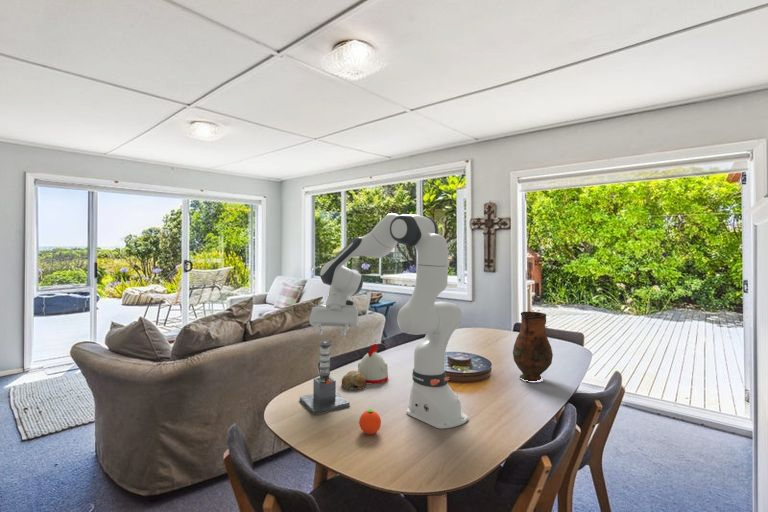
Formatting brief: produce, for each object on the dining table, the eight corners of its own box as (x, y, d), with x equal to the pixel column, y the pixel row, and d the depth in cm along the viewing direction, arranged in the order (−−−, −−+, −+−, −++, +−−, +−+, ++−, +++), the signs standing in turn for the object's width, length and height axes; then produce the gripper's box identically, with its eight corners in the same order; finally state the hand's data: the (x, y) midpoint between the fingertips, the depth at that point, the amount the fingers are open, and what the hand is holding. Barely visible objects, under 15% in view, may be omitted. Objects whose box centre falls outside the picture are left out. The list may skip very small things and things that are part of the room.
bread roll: (342, 398, 156) (344, 383, 152) (339, 379, 165) (340, 365, 161) (366, 395, 159) (368, 381, 155) (361, 377, 167) (363, 363, 164)
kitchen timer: (392, 375, 173) (393, 343, 172) (380, 386, 160) (380, 351, 160) (365, 371, 178) (366, 339, 178) (351, 380, 166) (351, 346, 165)
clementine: (358, 426, 125) (359, 404, 125) (379, 425, 125) (380, 404, 125) (359, 438, 117) (359, 416, 117) (381, 438, 117) (381, 415, 117)
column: (332, 388, 141) (333, 342, 140) (321, 390, 138) (321, 344, 138) (327, 384, 145) (328, 339, 144) (316, 386, 142) (316, 341, 142)
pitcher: (505, 379, 171) (507, 312, 170) (525, 368, 186) (527, 307, 185) (542, 389, 160) (544, 318, 158) (560, 377, 175) (563, 312, 174)
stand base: (349, 406, 140) (350, 380, 139) (313, 415, 132) (314, 387, 132) (333, 393, 151) (333, 369, 151) (299, 400, 144) (300, 375, 144)
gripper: (311, 300, 160) (304, 329, 151) (359, 302, 159) (355, 331, 149) (314, 309, 165) (307, 337, 156) (360, 311, 163) (357, 339, 154)
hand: (331, 334), depth 152 cm, fingers open, 8 cm apart
